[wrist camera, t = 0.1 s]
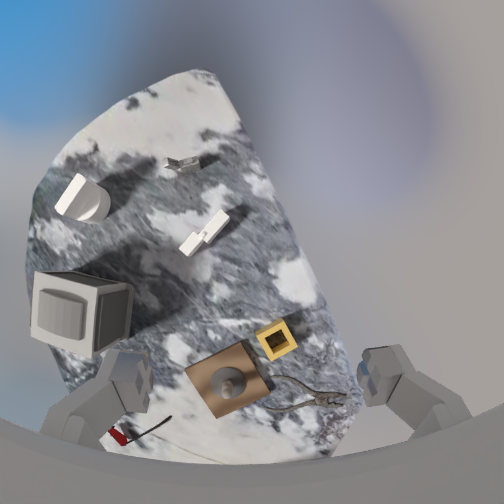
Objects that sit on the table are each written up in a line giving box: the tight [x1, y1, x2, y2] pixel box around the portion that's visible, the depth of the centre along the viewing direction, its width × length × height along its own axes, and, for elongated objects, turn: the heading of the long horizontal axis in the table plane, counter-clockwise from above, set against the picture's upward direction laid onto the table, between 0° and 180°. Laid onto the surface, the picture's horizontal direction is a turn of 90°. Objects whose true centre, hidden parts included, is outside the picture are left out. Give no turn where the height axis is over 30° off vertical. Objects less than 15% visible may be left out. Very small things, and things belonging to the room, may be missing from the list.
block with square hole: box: [255, 318, 298, 361], centre depth 63 cm, size 6×6×4 cm
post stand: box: [184, 341, 270, 419], centre depth 59 cm, size 14×14×9 cm
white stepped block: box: [179, 210, 230, 257], centre depth 62 cm, size 15×11×6 cm
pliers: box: [263, 375, 346, 412], centre depth 64 cm, size 10×1×20 cm
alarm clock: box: [30, 270, 135, 359], centre depth 54 cm, size 18×13×18 cm
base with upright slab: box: [55, 173, 111, 224], centre depth 58 cm, size 9×9×12 cm
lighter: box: [162, 156, 201, 174], centre depth 61 cm, size 7×2×8 cm, turn 104°
